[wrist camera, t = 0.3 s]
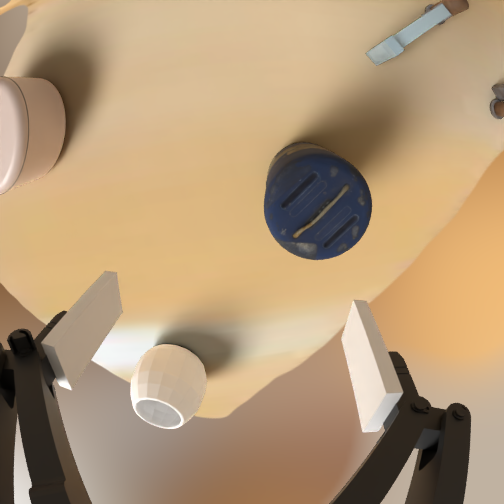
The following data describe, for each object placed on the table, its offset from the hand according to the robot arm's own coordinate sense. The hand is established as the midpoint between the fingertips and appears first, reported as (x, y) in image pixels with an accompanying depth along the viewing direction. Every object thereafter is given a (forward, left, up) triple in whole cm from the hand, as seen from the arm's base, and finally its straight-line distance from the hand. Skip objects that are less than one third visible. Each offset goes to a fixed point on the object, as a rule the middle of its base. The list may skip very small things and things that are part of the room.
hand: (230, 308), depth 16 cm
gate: (-25, +19, -27) cm, 41 cm away
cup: (+32, -14, -28) cm, 45 cm away
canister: (-3, +6, -28) cm, 28 cm away
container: (-12, -38, -28) cm, 48 cm away
